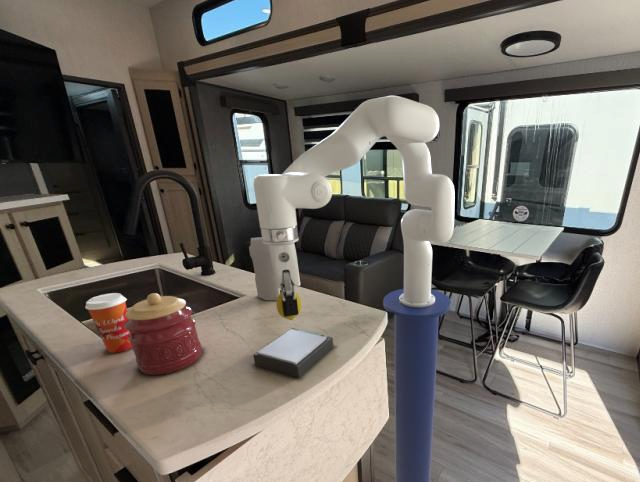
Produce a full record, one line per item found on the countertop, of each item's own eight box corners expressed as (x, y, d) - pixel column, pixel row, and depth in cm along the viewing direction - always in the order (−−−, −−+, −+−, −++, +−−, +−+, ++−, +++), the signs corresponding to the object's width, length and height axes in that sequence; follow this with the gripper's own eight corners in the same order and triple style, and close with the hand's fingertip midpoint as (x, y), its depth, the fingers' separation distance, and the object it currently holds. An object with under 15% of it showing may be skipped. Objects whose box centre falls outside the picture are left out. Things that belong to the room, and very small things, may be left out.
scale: (293, 337, 88) (292, 326, 87) (333, 347, 84) (332, 335, 82) (254, 365, 76) (252, 352, 75) (299, 378, 72) (297, 364, 70)
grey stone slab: (253, 297, 114) (242, 237, 106) (261, 293, 117) (252, 235, 110) (277, 302, 110) (267, 240, 103) (284, 297, 114) (276, 237, 106)
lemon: (273, 323, 75) (269, 292, 72) (288, 313, 80) (284, 283, 77) (293, 327, 73) (289, 295, 70) (307, 316, 78) (304, 286, 75)
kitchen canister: (132, 382, 70) (105, 310, 64) (146, 352, 81) (125, 288, 75) (200, 367, 75) (182, 299, 69) (205, 341, 86) (189, 280, 80)
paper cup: (97, 357, 79) (76, 306, 74) (109, 342, 85) (92, 294, 80) (135, 351, 82) (118, 301, 77) (145, 337, 88) (129, 290, 83)
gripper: (302, 241, 63) (311, 322, 69) (293, 226, 78) (301, 294, 84) (262, 244, 60) (275, 329, 67) (260, 228, 75) (271, 298, 81)
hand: (289, 309), depth 75 cm, fingers closed on lemon, 5 cm apart
